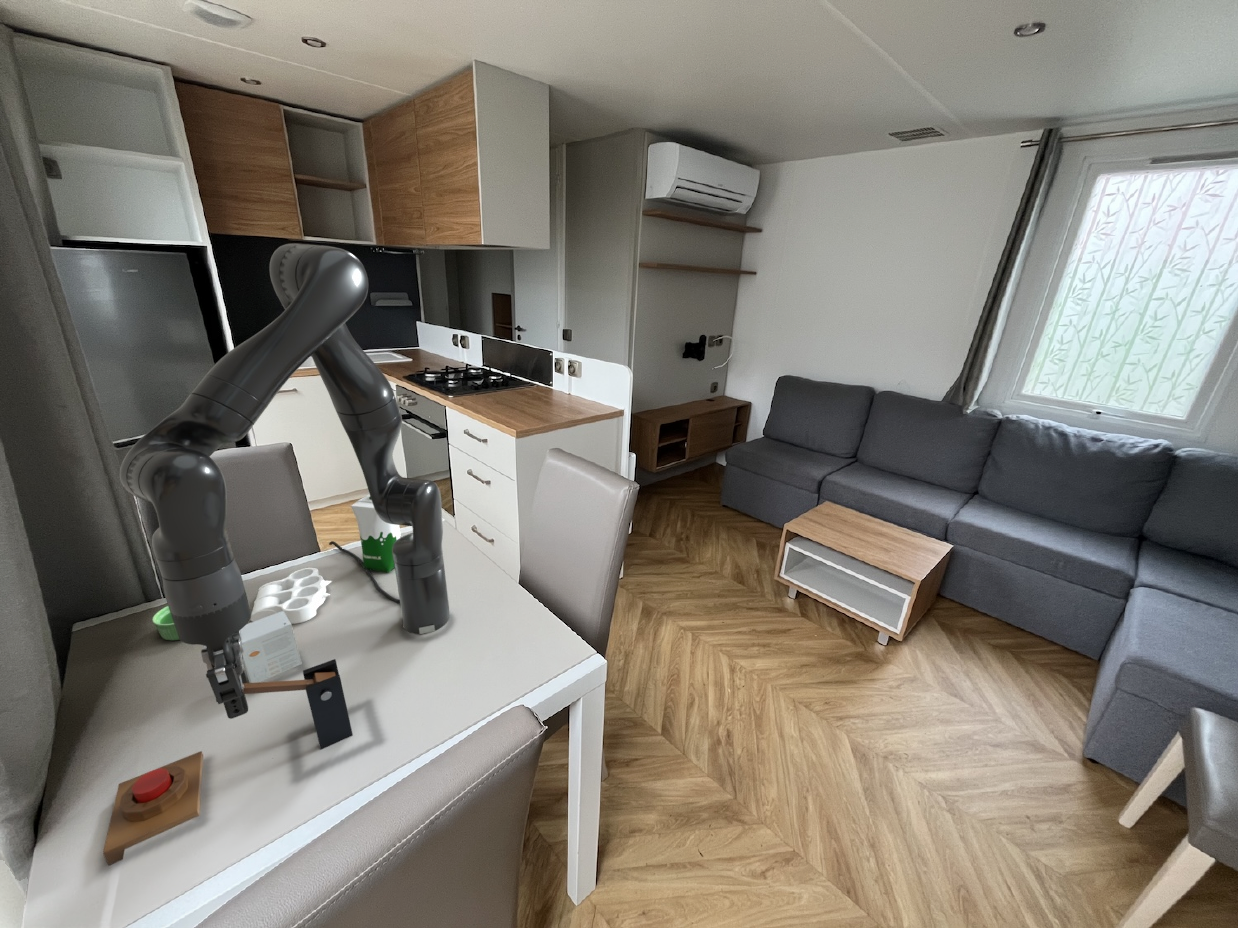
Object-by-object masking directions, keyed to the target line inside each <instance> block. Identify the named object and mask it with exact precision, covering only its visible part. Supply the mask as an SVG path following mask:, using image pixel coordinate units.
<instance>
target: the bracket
mask: <svg viewBox="0 0 1238 928" xmlns="http://www.w3.org/2000/svg"><path fill="white" fill-rule="evenodd" d="M323 672H335V675H336V676H333V677H331V678H328V679H325V680H323V681H320V682H317V683H315V684H312V685H309V686H307V687H306V690H305V692H306V697H307V700H308V701H307V702H308V704H309V709H310V713H311V717H312V721H313V724H314V729H315V732H316V736H317V740H318V744H319V748H320V749H319V750H324V749H326V748H328V747H331V746H333V745H335V744H337V743H339V742H341V741H344V740H346V739H348V738H351V737H352V736H354V735H353V734H354V733H353V730H352V725H351V722H350V716H349V712H348V707H347V701H346V697H345V693H344V689H343V684H342V679H341V675H340V673H339V669H338V664H337V660H336V659H335V658H334V659H332V660H331V659H330V660H327V661H324V662H323V663H320V664H317V665H314V666H311V667H308V668H305V669H303V670H302V675H303V680H309V679H313V677H314V674H315V673H323Z"/></svg>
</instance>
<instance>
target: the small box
mask: <svg viewBox="0 0 1238 928" xmlns="http://www.w3.org/2000/svg"><path fill="white" fill-rule="evenodd" d="M240 631H241V638H242V640H241V641H242V643H243V650H244V652H243V653H242V656H243V657H244V659H243V666H244V670H245V674H246V677H247V681H248V683H258V682H265V681H267V680H269V679H270V678H273V677H275V676H278V675H280V674H282V673H284V672H287V671H290V670H292V669H294V668H296V667H298V666H301V665H303V662H302V659H301V655H300V652H299V648H298V644H297V640H296V636H295V632H294V628H293V624H291V623H290V621H289V619H288V618H287V616H286V614H285V612H284V611H281V612H278V613H276V614H273V615H270V616H267V617H265V618H262V619H259V620H257V621H254V622H252V621H251V622H248V623H247V624H246V625H245V626H244V627H243V628H242V629H241V630H240Z"/></svg>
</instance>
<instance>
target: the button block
mask: <svg viewBox="0 0 1238 928" xmlns="http://www.w3.org/2000/svg"><path fill="white" fill-rule="evenodd" d="M203 766H204V753H203V751H202V750H201V751H197V752H195V753H193V754H191V755H188V756H185V757H183V758H180V759H178V760H175V761H173V762H171V763H167V764H166V765H163V766H160V767H158V768H155V769H154V770H156V769H166V770H167V771H168V773H169V775H170V778H171V780H172V783H171V786H170V787H169V789H168V790H167V791H166V792H165V793H163V794H162V795H160V796H159V797H158V798H156V799H154V800H151V801H149V802H147V803H139V802H137V801H136V799H135V796H134V794H133V792H132V787H133V785H134V784H135V782H136V781H137V780H138V779H139V778H141V777H142V776H143V775H145V774H147V773H148V772H149V771H148V772H145V773H142V774H140V775H138V776H134V777H131V778H130V779H127V780H125V781H123V782H120V783H119V784H118V786H117V791H116V794H115V800H114V803H113V808H112V812H111V815H110V816H111V817H110V820H109V821H110V822H109V826H108V830H107V834H106V838H105V843H104V847H103V851H102V855H103V857H104V859H105V861H106V863H107V865H108V866H111V865H113V864H116V863H118V862H120V861H123V860H124V855H125V851H126V849H129V848H131V847H133V846H135V845H138V844H140V843H143V842H144V841H146V840H148V839H151V838H153V837H155V836H157V835H159V834H162V833H164V832H166V831H169V830H172V828H175V827H177V826H179V825H182V824H184V823H187V822H189V821H190V820H193V819H194V818H197V817H199V816H200V810H201V809H200V808H201V795H202V782H203V781H202V780H203Z"/></svg>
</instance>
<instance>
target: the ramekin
mask: <svg viewBox="0 0 1238 928" xmlns="http://www.w3.org/2000/svg"><path fill="white" fill-rule="evenodd" d="M151 621H152V624H153V625H154V626H155V627H156V629H157V631H158V633H159V635H160V637H161V638H162V639H163V640H166V641H181V640H180V639H179V637H178V634H177V631H176V628H175V625H174V622H173V619H172V616H171V613H170V610H169V607H168V605H167V606H165V607H163V608H162V609H160V610H158V611H156V613H155V614H154V615H153V616H152V620H151Z"/></svg>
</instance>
